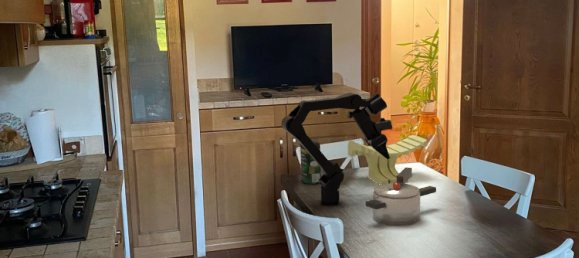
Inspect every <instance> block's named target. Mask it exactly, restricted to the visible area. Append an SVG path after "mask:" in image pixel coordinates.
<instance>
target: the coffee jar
mask: <svg viewBox="0 0 579 258" xmlns="http://www.w3.org/2000/svg"><path fill="white" fill-rule="evenodd" d="M310 139H311V140H312V142H313V143H314V144H315V145H316V146H317V147H318V149H319V150H320V151H321V143H320V142H319V141H316V140H315V139H312V138H310ZM299 149H300V151H299V152H300V153H299V154H300V180H301V181H302V182H303V183H304V184H307V185H308V184H310V185H315V184H318V183H319V181H318V180H319V179H320V178H321V176H322V174H321V173H322V171H321V169H320V166H319V165H318V164H317V162H316V161H315V160H314V159H313V158H312V157H311V155H310V154H309V153H308V152H307V151H306V150H305V148H304V147H303V146H302V145H301V144H300V143H299Z"/></svg>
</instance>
